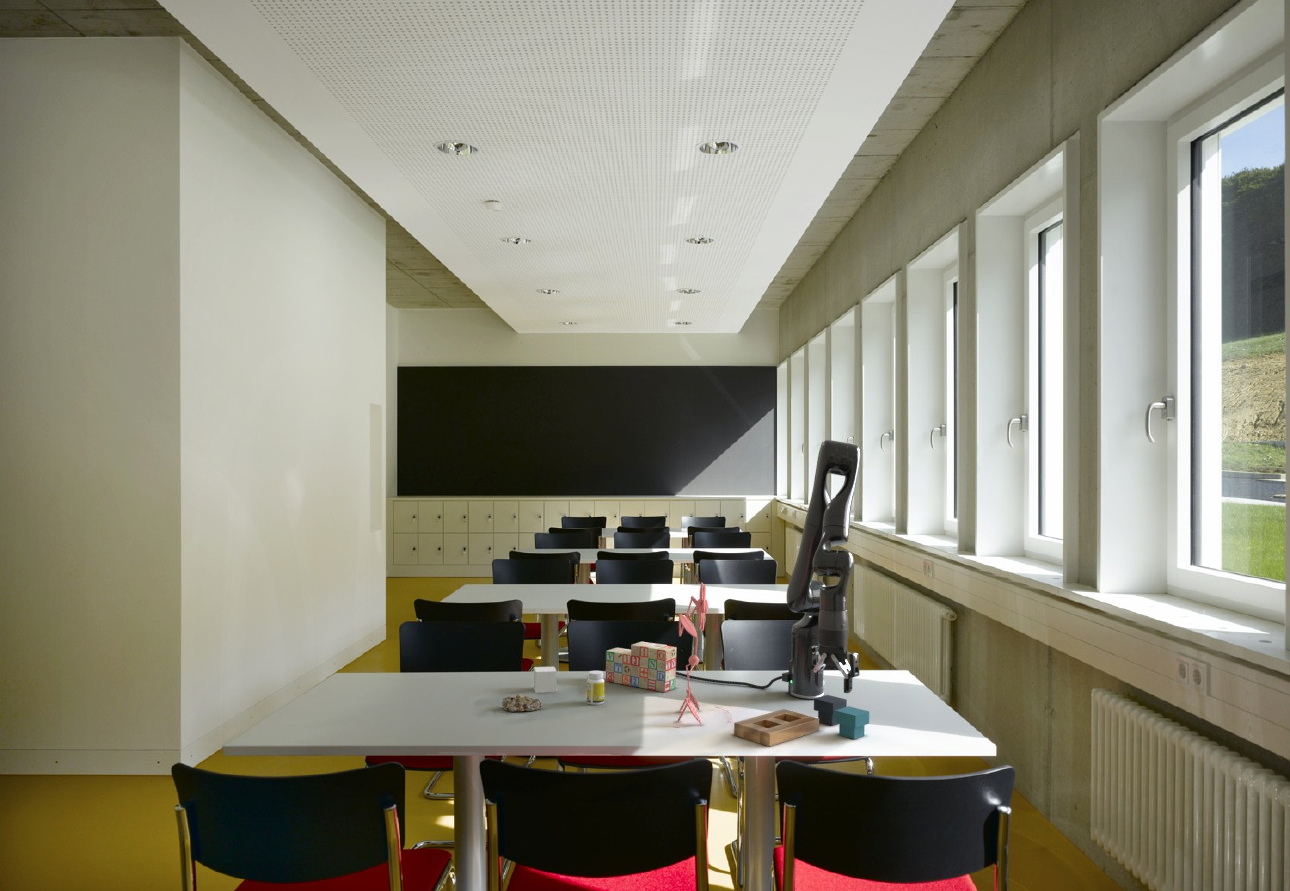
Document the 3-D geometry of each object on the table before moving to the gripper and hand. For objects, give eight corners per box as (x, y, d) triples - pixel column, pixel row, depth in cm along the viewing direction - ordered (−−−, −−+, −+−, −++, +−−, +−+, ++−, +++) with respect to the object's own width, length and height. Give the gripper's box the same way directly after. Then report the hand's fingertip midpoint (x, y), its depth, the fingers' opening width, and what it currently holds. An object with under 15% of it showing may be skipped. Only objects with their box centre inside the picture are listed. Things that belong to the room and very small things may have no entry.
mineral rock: (498, 703, 226) (505, 687, 234) (498, 718, 228) (505, 702, 235) (538, 706, 226) (544, 690, 234) (538, 721, 227) (544, 705, 235)
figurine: (672, 731, 213) (674, 589, 214) (677, 703, 239) (679, 576, 240) (734, 734, 212) (737, 591, 213) (733, 705, 237) (735, 578, 238)
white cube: (535, 693, 247) (535, 671, 247) (533, 687, 253) (534, 667, 253) (556, 692, 248) (556, 671, 248) (554, 686, 254) (554, 666, 254)
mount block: (733, 735, 211) (734, 722, 211) (783, 720, 225) (783, 708, 225) (769, 746, 203) (769, 733, 203) (819, 730, 216) (819, 718, 216)
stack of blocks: (604, 681, 262) (605, 640, 262) (616, 677, 267) (617, 637, 267) (665, 692, 250) (666, 649, 250) (676, 688, 255) (676, 646, 256)
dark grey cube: (813, 721, 224) (813, 698, 224) (827, 717, 228) (827, 694, 228) (832, 727, 220) (833, 703, 220) (846, 722, 224) (846, 699, 224)
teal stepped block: (834, 734, 213) (834, 710, 213) (848, 730, 217) (848, 706, 217) (855, 740, 209) (855, 715, 209) (869, 735, 213) (869, 711, 213)
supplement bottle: (607, 702, 239) (607, 671, 239) (599, 706, 235) (599, 675, 235) (591, 699, 241) (592, 669, 241) (583, 703, 237) (584, 672, 237)
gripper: (865, 628, 222) (865, 692, 221) (818, 621, 232) (818, 682, 232) (848, 632, 217) (848, 697, 216) (802, 624, 227) (801, 687, 226)
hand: (833, 689), depth 224 cm, fingers open, 8 cm apart
